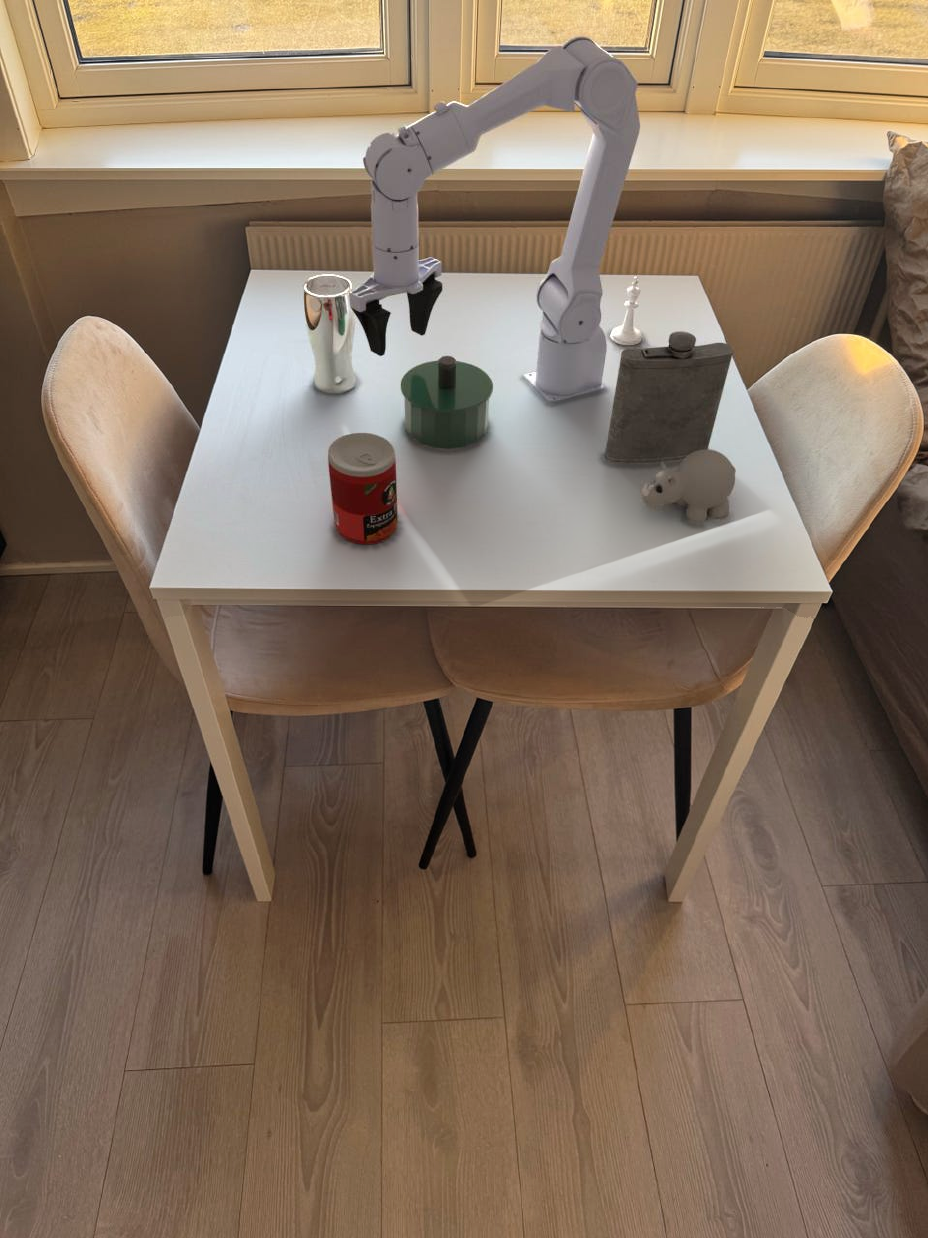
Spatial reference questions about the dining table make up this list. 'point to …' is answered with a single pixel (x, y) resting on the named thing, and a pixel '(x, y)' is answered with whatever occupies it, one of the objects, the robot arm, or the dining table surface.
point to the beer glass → (330, 331)
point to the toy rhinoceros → (694, 485)
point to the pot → (446, 426)
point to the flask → (666, 400)
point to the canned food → (363, 487)
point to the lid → (446, 386)
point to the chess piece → (628, 320)
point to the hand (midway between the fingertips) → (398, 342)
